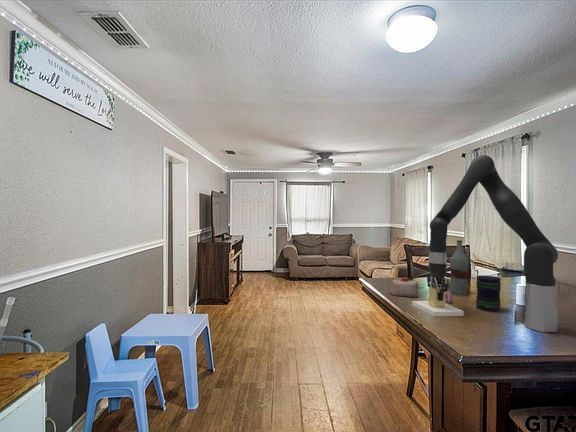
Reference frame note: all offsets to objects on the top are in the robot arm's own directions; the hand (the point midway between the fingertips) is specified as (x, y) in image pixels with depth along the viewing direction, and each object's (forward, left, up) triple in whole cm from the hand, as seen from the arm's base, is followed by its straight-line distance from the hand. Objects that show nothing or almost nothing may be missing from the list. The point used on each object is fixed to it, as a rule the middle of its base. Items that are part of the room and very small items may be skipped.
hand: (436, 298), depth 152 cm
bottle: (+31, -33, -5) cm, 46 cm away
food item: (+28, +1, -6) cm, 29 cm away
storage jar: (0, -26, -5) cm, 27 cm away
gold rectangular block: (0, 0, -3) cm, 3 cm away
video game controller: (+15, -12, -5) cm, 20 cm away
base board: (0, 0, -5) cm, 5 cm away
